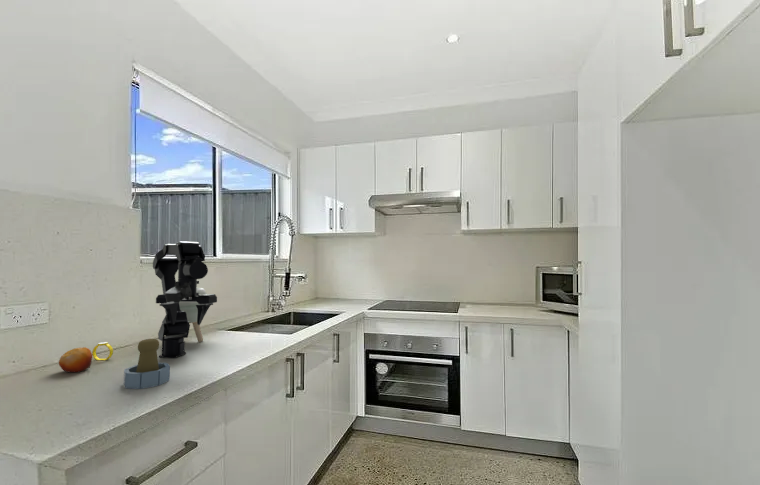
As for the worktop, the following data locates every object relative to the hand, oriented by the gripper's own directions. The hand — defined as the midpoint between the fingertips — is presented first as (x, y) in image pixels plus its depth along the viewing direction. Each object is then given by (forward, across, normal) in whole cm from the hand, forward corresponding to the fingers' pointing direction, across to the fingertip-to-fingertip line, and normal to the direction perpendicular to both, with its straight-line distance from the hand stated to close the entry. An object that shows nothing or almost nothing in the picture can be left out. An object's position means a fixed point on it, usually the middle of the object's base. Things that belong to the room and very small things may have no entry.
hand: (186, 324), depth 122 cm
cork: (+12, +1, -18) cm, 22 cm away
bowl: (+13, +1, -19) cm, 23 cm away
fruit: (+13, -28, -12) cm, 33 cm away
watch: (+13, -30, 0) cm, 33 cm away
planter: (+13, -18, +28) cm, 36 cm away
